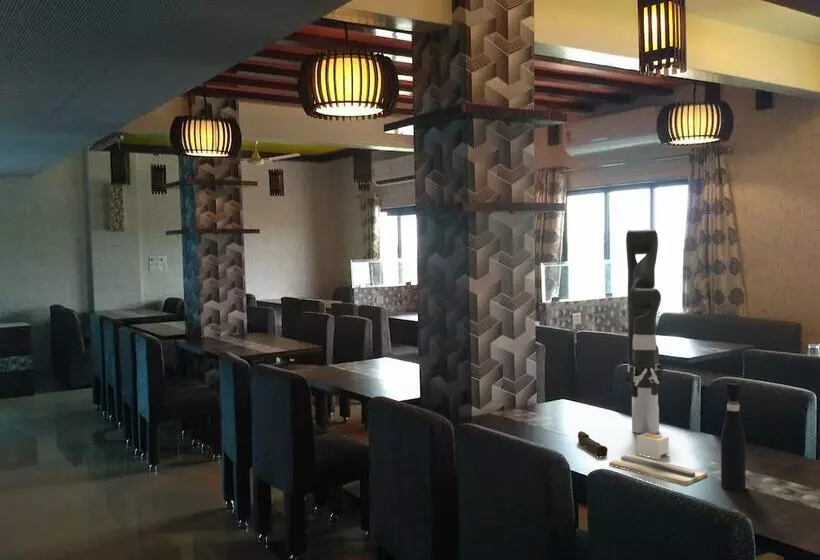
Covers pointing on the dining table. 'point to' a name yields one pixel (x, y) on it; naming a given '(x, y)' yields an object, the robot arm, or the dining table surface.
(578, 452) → the dining table surface
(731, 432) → the wine bottle
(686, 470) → the rail board
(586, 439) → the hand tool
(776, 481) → the dining table surface
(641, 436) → the block
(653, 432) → the robot arm
